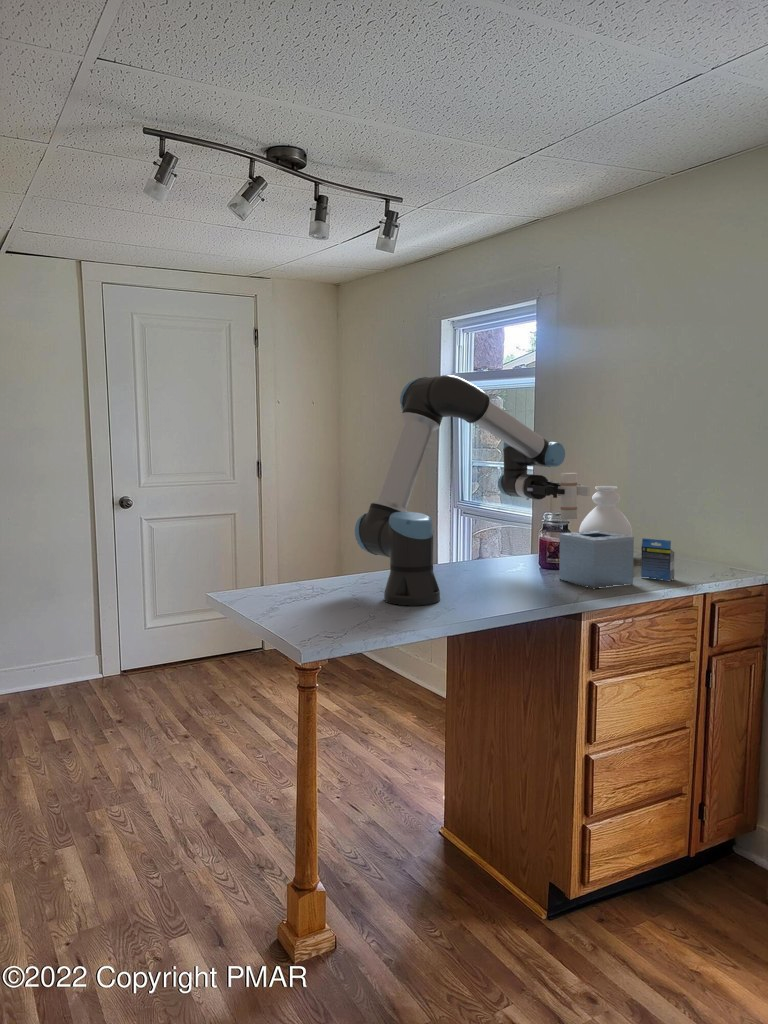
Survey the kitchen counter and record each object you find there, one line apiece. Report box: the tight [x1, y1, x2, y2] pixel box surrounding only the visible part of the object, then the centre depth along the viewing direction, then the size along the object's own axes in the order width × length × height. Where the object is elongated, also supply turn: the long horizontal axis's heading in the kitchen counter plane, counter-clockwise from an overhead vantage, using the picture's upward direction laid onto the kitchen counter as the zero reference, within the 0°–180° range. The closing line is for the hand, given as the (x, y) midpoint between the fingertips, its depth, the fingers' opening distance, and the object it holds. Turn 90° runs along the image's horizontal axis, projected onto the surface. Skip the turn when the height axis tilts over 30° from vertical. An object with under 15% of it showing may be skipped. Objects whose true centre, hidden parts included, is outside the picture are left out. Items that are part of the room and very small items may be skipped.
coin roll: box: [559, 472, 578, 520], centre depth 212 cm, size 5×5×13 cm
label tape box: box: [640, 537, 675, 582], centre depth 220 cm, size 9×4×12 cm, turn 50°
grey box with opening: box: [558, 530, 635, 588], centre depth 217 cm, size 14×16×14 cm
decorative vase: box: [578, 485, 633, 537], centre depth 258 cm, size 18×18×25 cm
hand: (580, 491), depth 207 cm, fingers closed on coin roll, 4 cm apart
